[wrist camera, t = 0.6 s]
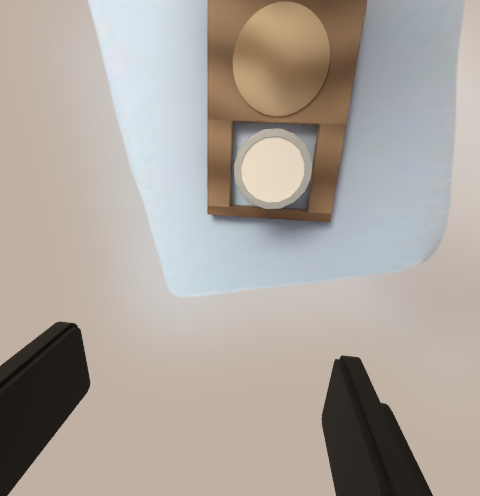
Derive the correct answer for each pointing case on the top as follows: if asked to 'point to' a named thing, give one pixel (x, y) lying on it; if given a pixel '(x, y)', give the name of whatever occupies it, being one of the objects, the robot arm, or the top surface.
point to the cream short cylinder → (272, 168)
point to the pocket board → (281, 87)
